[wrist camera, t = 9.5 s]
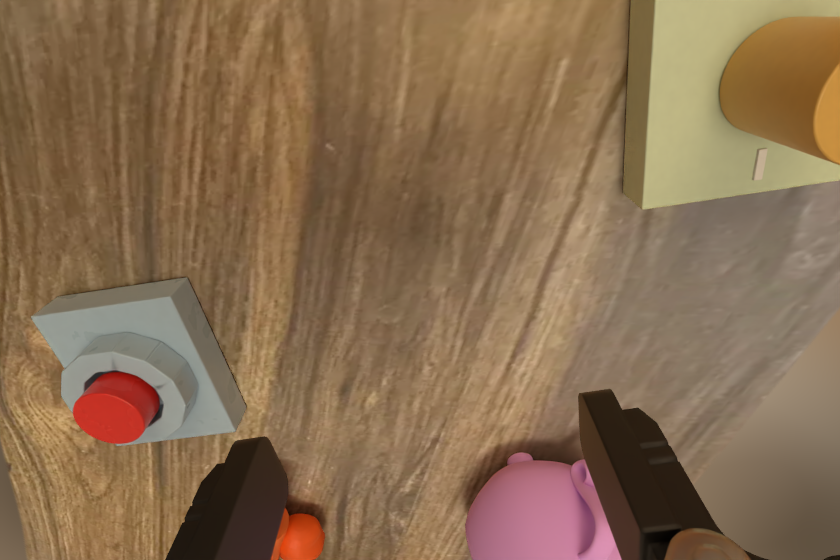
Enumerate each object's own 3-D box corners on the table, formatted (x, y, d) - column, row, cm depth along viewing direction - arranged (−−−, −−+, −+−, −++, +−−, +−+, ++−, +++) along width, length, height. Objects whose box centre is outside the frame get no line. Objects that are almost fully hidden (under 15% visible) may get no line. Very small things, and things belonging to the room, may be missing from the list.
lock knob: (716, 144, 21) (812, 185, 16) (720, 35, 19) (831, 41, 14) (824, 117, 20) (959, 151, 15) (840, 1, 18) (1003, -5, 13)
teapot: (643, 446, 33) (715, 585, 25) (545, 564, 40) (577, 704, 32) (508, 408, 32) (538, 545, 24) (430, 538, 39) (432, 679, 30)
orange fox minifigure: (229, 531, 29) (209, 630, 34) (349, 517, 32) (313, 610, 37) (229, 461, 33) (212, 560, 38) (336, 455, 36) (305, 547, 41)
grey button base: (56, 296, 28) (3, 336, 24) (187, 276, 27) (153, 315, 23) (134, 421, 32) (99, 470, 29) (247, 407, 32) (225, 455, 28)
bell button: (80, 375, 26) (58, 398, 24) (142, 367, 25) (125, 389, 24) (111, 423, 27) (93, 447, 26) (170, 416, 27) (156, 440, 26)
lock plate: (631, -36, 20) (659, -44, 17) (888, -86, 19) (954, -100, 17) (622, 193, 25) (643, 211, 22) (827, 161, 24) (871, 177, 21)
